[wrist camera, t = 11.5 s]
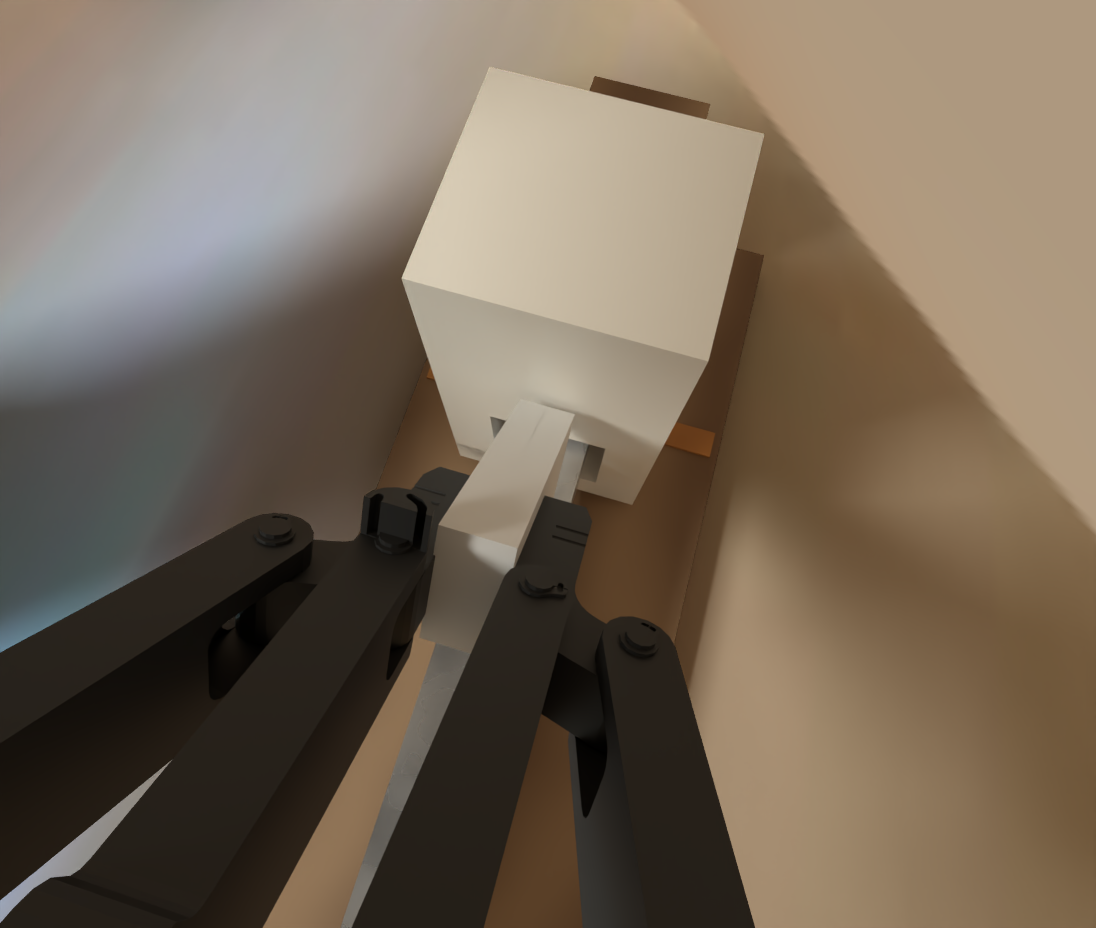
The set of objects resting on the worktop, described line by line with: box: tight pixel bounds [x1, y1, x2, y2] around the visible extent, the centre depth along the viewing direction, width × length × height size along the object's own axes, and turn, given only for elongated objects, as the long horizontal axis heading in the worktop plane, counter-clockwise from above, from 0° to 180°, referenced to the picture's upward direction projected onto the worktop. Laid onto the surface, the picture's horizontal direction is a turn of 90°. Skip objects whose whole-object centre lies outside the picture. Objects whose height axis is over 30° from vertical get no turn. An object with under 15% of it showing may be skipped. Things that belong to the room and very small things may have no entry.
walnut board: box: [263, 76, 764, 928], centre depth 20 cm, size 12×46×8 cm, turn 164°
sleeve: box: [402, 67, 764, 505], centre depth 21 cm, size 7×6×12 cm
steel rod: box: [340, 439, 590, 928], centre depth 19 cm, size 3×42×3 cm, turn 164°
